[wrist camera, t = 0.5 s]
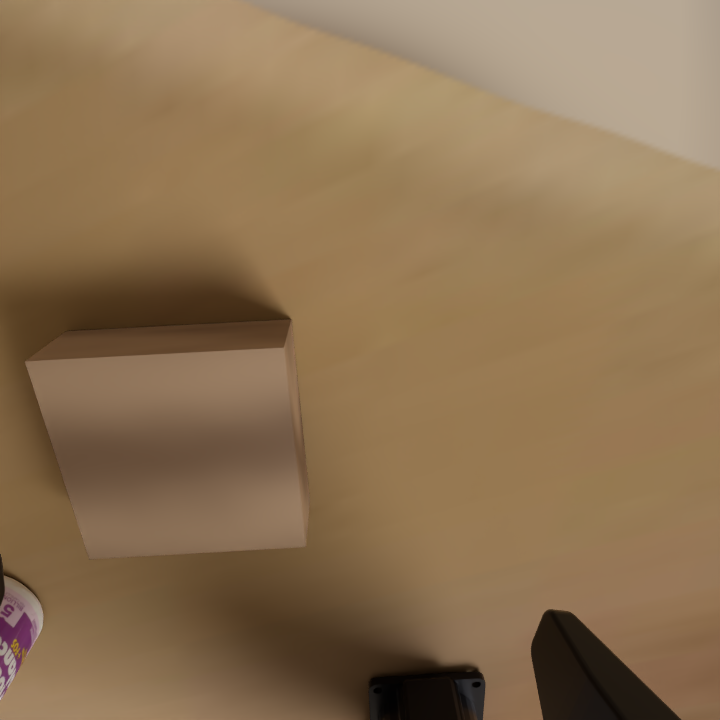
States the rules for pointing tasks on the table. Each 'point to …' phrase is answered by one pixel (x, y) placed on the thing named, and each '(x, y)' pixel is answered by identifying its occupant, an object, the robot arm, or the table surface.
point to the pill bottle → (17, 629)
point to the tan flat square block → (178, 436)
